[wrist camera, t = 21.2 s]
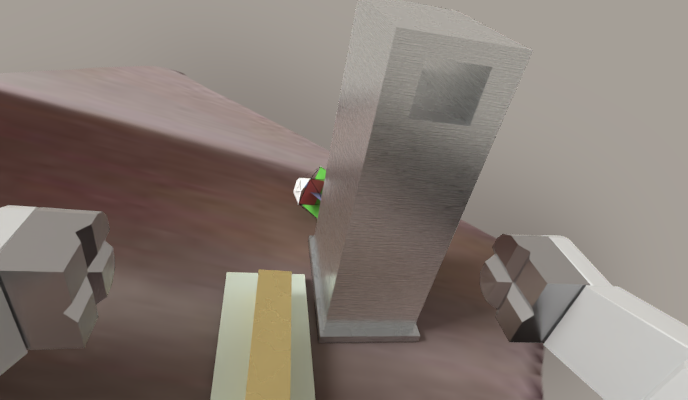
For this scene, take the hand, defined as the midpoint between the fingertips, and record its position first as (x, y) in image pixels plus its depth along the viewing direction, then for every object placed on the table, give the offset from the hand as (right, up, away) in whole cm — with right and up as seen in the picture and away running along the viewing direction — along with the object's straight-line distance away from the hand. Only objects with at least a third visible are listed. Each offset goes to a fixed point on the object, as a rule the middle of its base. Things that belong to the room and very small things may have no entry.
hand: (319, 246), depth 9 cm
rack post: (+2, -10, +41) cm, 42 cm away
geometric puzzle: (-4, -1, +52) cm, 53 cm away
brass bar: (-7, -15, +29) cm, 33 cm away
